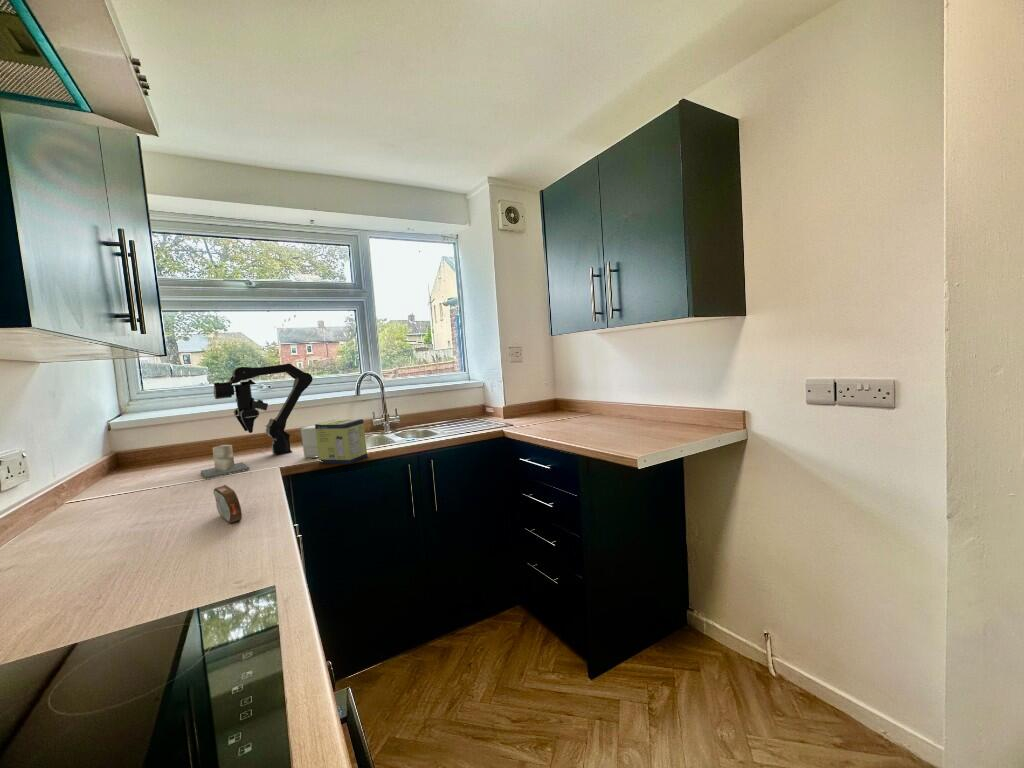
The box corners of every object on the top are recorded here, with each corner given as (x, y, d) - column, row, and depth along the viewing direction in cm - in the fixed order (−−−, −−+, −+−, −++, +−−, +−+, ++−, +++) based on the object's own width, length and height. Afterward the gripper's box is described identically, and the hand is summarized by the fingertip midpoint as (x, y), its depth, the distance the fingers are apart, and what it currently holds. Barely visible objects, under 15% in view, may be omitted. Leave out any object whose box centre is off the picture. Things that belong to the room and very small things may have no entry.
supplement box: (329, 452, 186) (326, 424, 185) (320, 457, 179) (316, 427, 178) (313, 453, 187) (310, 425, 186) (303, 458, 179) (300, 428, 178)
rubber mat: (242, 464, 177) (242, 462, 176) (249, 469, 166) (249, 467, 166) (201, 473, 167) (200, 470, 167) (205, 479, 157) (205, 476, 157)
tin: (244, 523, 109) (239, 491, 108) (229, 527, 107) (225, 495, 106) (228, 511, 119) (224, 481, 119) (215, 515, 117) (211, 485, 116)
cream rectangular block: (226, 467, 170) (223, 444, 169) (234, 467, 168) (231, 444, 167) (215, 470, 165) (212, 447, 164) (224, 470, 164) (221, 447, 163)
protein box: (337, 456, 178) (333, 419, 177) (368, 456, 173) (364, 418, 171) (318, 463, 168) (313, 424, 167) (350, 464, 163) (345, 423, 162)
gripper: (270, 394, 182) (274, 430, 183) (260, 393, 196) (264, 426, 197) (239, 397, 175) (244, 435, 176) (231, 396, 188) (236, 431, 190)
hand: (248, 431), depth 185 cm, fingers open, 9 cm apart
